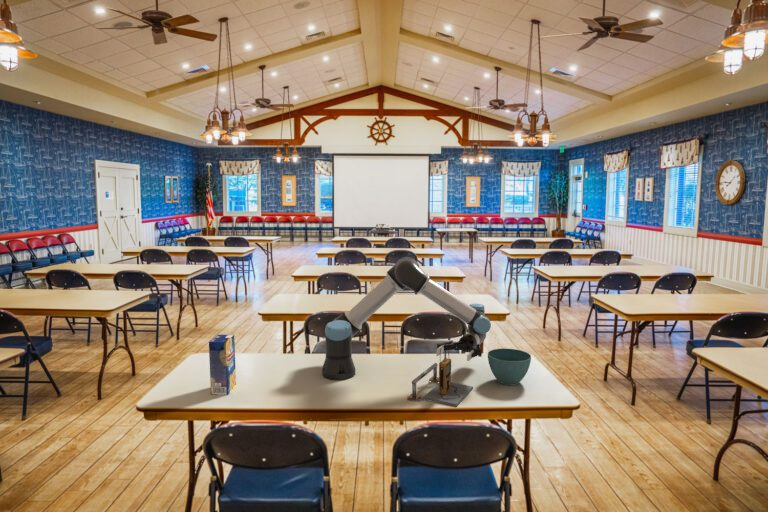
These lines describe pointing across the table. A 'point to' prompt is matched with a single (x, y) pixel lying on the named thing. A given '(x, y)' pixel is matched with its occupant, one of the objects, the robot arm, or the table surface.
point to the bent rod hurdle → (432, 379)
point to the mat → (449, 394)
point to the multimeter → (445, 375)
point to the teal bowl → (509, 365)
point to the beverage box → (222, 364)
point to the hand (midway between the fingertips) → (452, 355)
